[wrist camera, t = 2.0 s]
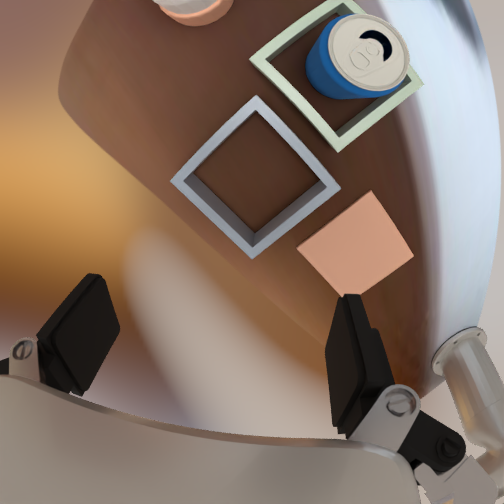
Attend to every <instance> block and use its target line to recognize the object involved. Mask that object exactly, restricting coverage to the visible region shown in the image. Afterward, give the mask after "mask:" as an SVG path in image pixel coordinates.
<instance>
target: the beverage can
mask: <svg viewBox="0 0 504 504" xmlns="http://www.w3.org/2000/svg"><path fill="white" fill-rule="evenodd" d="M409 62H410V58H409V51H408V48H407V45H406V43H405V41H404V39H403V37H402V36H401V35H400V33H399V32H398V31H397V30H396V29H395V28H394V27H393V26H392V25H391V24H389V23H388V22H386V21H385V20H383V19H381V18H378V17H376V16H373V15H368V14H346V15H342V16H339V17H337V18H335V19H333V20H332V21H331V22H329V23H328V24H327V26H326V27H325V28H324V30H323V31H322V33H321V34H320V36H319V38H318V39H317V41H316V42H315V44H314V46H313V47H312V49H311V51H310V52H309V54H308V56H307V58H306V63H305V70H306V75H307V78H308V80H309V82H310V83H311V85H312V86H313V87H314V88H315V89H316V90H317V91H318V92H320V93H321V94H323V95H325V96H327V97H329V98H333V99H355V98H375V97H381V96H385V95H387V94H390V93H391V92H393V91H394V90H396V89H397V88H398V87H399V86H400V85H401V83H402V82H403V80H404V78H405V76H406V74H407V72H408V69H409Z"/></svg>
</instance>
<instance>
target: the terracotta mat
mask: <svg viewBox="0 0 504 504" xmlns="http://www.w3.org/2000/svg"><path fill="white" fill-rule="evenodd" d="M296 248H297V249H298V251H299V252H300V253H301V254H302V255H303V256H304V257H305V258H306V259H307V260H308V261H309V262H310V263H311V264H312V265H313V266H314V267H315V269H316V270H317V271H318V272H319V273H320V274H321V275H322V276H323V277H324V278H325V279H326V280H327V281H328V283H329V284H330V285H331V286H332V287H333V288H334V289H335V290H336V291H337V292H338V293H339V294H340V296H341V297H343V295H344V294H359V295H360V294H362V293H363V292H365V291H366V290H368V289H369V288H370V287H372V286H373V285H375V284H376V283H378V282H379V281H380V280H382V279H383V278H385V277H386V276H388V275H389V274H390V273H392V272H393V271H394V270H396V269H397V268H399V267H400V266H401V265H403V264H404V263H405V262H407V261H408V260H409V259H411V258H412V257H413V256H414V255H413V254H412V252H411V250H410V249H409V247H408V245H407V244H406V242H405V240H404V239H403V237H402V236H401V234H400V232H399V231H398V229H397V228H396V226H395V225H394V223H393V222H392V220H391V219H390V217H389V216H388V214H387V213H386V211H385V210H384V208H383V207H382V205H381V204H380V203H379V201H378V200H377V198H376V197H375V195H374V194H373V193H372V191H371V190H369V191H368V192H366V193H365V194H364V195H363V196H361V197H360V198H359V199H358V200H356V201H355V202H354V203H352V204H351V205H350V206H349V207H347V208H346V209H345V210H344V211H342V212H341V213H340V214H338V215H337V216H336V217H335V218H333V219H332V220H331V221H329V222H328V223H327V224H325V225H324V226H323V227H322V228H320V229H319V230H318V231H316V232H315V233H314V234H312V235H311V236H310V237H309V238H307V239H306V240H305V241H303V242H302V243H301V244H299V245H298V246H297V247H296Z"/></svg>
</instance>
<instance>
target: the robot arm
mask: <svg viewBox="0 0 504 504" xmlns="http://www.w3.org/2000/svg"><path fill="white" fill-rule="evenodd" d="M119 332H120V325H119V322H118V319H117V317H116V313H115V311H114V307H113V304H112V301H111V298H110V295H109V291H108V288H107V285H106V281H105V280H104V279H103V278H102V276H101V275H99V274H91V273H89V274H87V275H86V276H85V277H84V278H83V279H82V280H81V281H80V283H79V284H78V285H77V286H76V287H75V288H74V289H73V291H72V292H71V293H70V294H69V295H68V296H67V298H66V299H65V300H64V301H63V302H62V304H61V305H60V306H59V307H58V308H57V309H56V311H55V312H54V313H53V314H52V316H51V317H50V318H49V319H48V321H47V322H46V323H45V324H44V326H43V327H42V328H41V329H40V331H39V332H38V333H37V335H36V336H37V338H38V341H37V342H36V341H35V340H34V339H32V338H28V337H27V338H22V339H20V340H18V341H17V342H16V343H15V344H14V345H13V346H12V348H11V350H10V354H9V358H6V359H4V360H1V361H0V504H421V500H420V495H419V490H418V486H417V485H421V486H422V487H423V488H424V490H425V491H426V493H425V495H426V496H427V497H428V499H429V500H430V503H431V504H494V503H495V501H496V500H497V499H499V498H500V497H502V496H504V384H503V382H502V380H501V378H500V376H499V374H498V372H497V370H496V368H495V366H494V364H493V362H492V361H491V359H490V357H489V355H488V353H487V351H486V350H485V348H484V347H485V345H486V341H487V336H486V334H485V332H484V331H483V329H481V328H477V327H475V328H469V329H466V330H463V331H461V332H459V333H458V334H456V335H454V336H453V337H451V338H450V339H449V340H448V341H447V342H445V343H444V344H443V345H442V346H441V348H440V349H439V350H438V351H437V353H436V354H435V356H434V358H433V361H432V368H433V371H434V372H435V374H437V375H439V376H444V377H445V379H446V382H447V384H448V387H449V389H450V392H451V394H452V397H453V400H454V403H455V406H456V408H457V411H458V414H459V417H460V420H461V423H462V426H463V429H464V432H465V435H466V437H467V439H468V440H469V441H470V442H471V443H472V444H474V445H478V446H481V447H484V448H486V452H485V453H484V454H483V455H481V456H480V457H478V458H477V459H474V458H473V456H472V455H470V456H469V457H468V456H467V455H466V454H465V452H466V445H465V441H464V439H463V438H462V436H461V435H459V434H458V433H457V432H455V431H454V430H452V429H450V428H448V427H447V426H445V425H444V424H442V423H440V422H439V421H437V420H436V419H434V418H432V417H431V416H429V415H427V414H426V413H424V412H423V411H421V410H420V407H421V404H420V399H419V396H418V395H417V393H416V392H415V391H414V390H413V389H411V388H410V387H407V386H405V385H399V384H397V385H395V382H394V378H393V375H392V372H391V368H390V365H389V362H388V358H387V355H386V352H385V349H384V346H383V343H382V340H381V337H380V334H379V331H378V330H377V329H376V328H371V327H370V324H369V321H368V317H367V314H366V311H365V308H364V305H363V302H362V300H361V297H360V295H359V294H344V295H343V297H339V298H338V301H337V305H336V309H335V313H334V317H333V321H332V325H331V329H330V332H329V336H328V340H327V343H326V347H325V358H326V366H327V374H328V384H329V392H330V403H331V414H332V424H333V427H337V429H338V434H345V435H346V439H347V440H341V439H314V438H280V437H263V436H251V435H239V434H231V433H222V432H215V431H208V430H202V429H195V428H189V427H184V426H179V425H174V424H169V423H164V422H159V421H155V420H151V419H147V418H143V417H139V416H135V415H131V414H128V413H124V412H121V411H117V410H114V409H110V408H107V407H104V406H101V405H98V404H95V403H92V402H89V401H86V400H83V399H81V398H78V397H75V396H72V395H70V394H69V393H70V391H71V392H72V393H73V394H76V395H79V396H83V394H84V392H85V391H87V390H88V389H89V387H90V385H91V383H92V382H93V380H94V378H95V376H96V374H97V372H98V370H99V368H100V367H101V365H102V363H103V361H104V359H105V357H106V355H107V354H108V352H109V350H110V348H111V346H112V345H113V343H114V341H115V340H116V338H117V336H118V334H119ZM503 504H504V503H503Z"/></svg>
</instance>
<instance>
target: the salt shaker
mask: <svg viewBox="0 0 504 504" xmlns="http://www.w3.org/2000/svg"><path fill="white" fill-rule="evenodd" d="M153 1H154V2H155V3H157V4H159V6H160V8H161V10H163V11H164V12H165V13H166V14H167V15H168V16H170V17H171V18H173V19H174V20H176V21H177V22H179V23H181V24H184V25H186V26H202V25H207V24H210V23H212V22H215V21H217V20H218V19H220V18H221V17H222V16H224V15H225V14H226V13H227V12H228V10H229V9H230V8H231V6H232V4H233V1H234V0H153Z"/></svg>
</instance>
